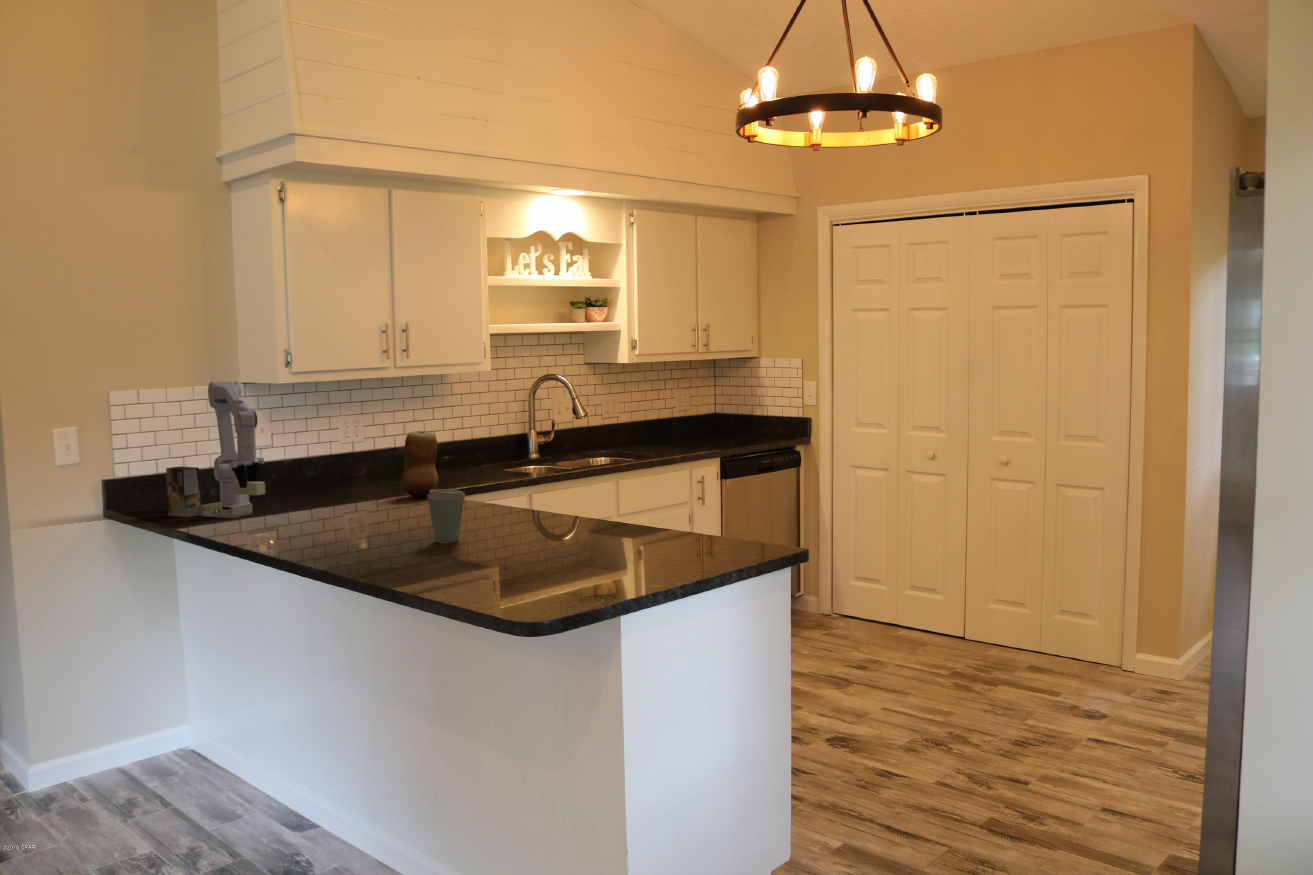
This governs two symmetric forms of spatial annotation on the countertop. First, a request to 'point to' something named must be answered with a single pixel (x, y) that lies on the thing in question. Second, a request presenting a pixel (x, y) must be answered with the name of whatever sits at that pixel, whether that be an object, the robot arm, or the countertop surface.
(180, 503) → the coffee box
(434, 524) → the disposable coffee cup
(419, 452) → the butternut squash
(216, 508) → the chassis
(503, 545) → the countertop surface
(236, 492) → the board
